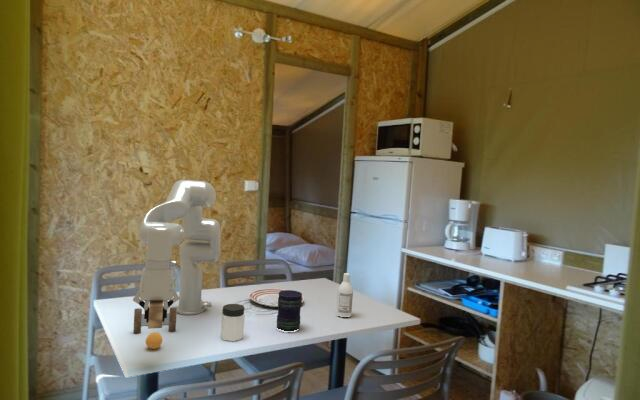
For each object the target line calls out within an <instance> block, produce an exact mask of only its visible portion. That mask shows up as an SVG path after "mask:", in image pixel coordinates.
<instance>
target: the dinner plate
mask: <svg viewBox="0 0 640 400" xmlns="http://www.w3.org/2000/svg"><path fill="white" fill-rule="evenodd" d="M284 290H285V289H283V288H282V289H281V288H261V289H256V290H253V291H251V292H250V293H249V294H248V298H249V299H250V300H251V301H253V302H254V303H256V304H258V305H261V306H263V305H265V306H264V307H267V306H271V307H270V308H275V307H278V305H268V304H263V303H260V302H259V299H260V298H263V297H265V296H268V295H279V292H280V291H284ZM304 301H305V298H304V296H303V295H302V303H304Z"/></svg>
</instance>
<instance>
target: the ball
mask: <svg viewBox="0 0 640 400" xmlns="http://www.w3.org/2000/svg"><path fill="white" fill-rule="evenodd" d="M145 344H146V346H147V348H149V349H152V350H157V349H158V348H160V347H161V345H162V344H163V337H162V335H161V334H160V333H158V332H152V333H149V334H148V335H147V337H146V338H145Z"/></svg>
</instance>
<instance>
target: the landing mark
mask: <svg viewBox="0 0 640 400" xmlns="http://www.w3.org/2000/svg"><path fill="white" fill-rule="evenodd" d="M169 313H170V312H167V318H164V322H163V321H162V326H169ZM144 314H145V313H142V318H141V327H148V323H146V320H147V319H144Z"/></svg>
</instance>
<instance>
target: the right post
mask: <svg viewBox="0 0 640 400" xmlns="http://www.w3.org/2000/svg"><path fill="white" fill-rule="evenodd" d="M176 307H177V306H175V307H174V306H172V307H171V306H170V307H169V312H168V313H169V325H168V333H176V330H177V329H176V327H177V314H178V313H177V308H176Z"/></svg>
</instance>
